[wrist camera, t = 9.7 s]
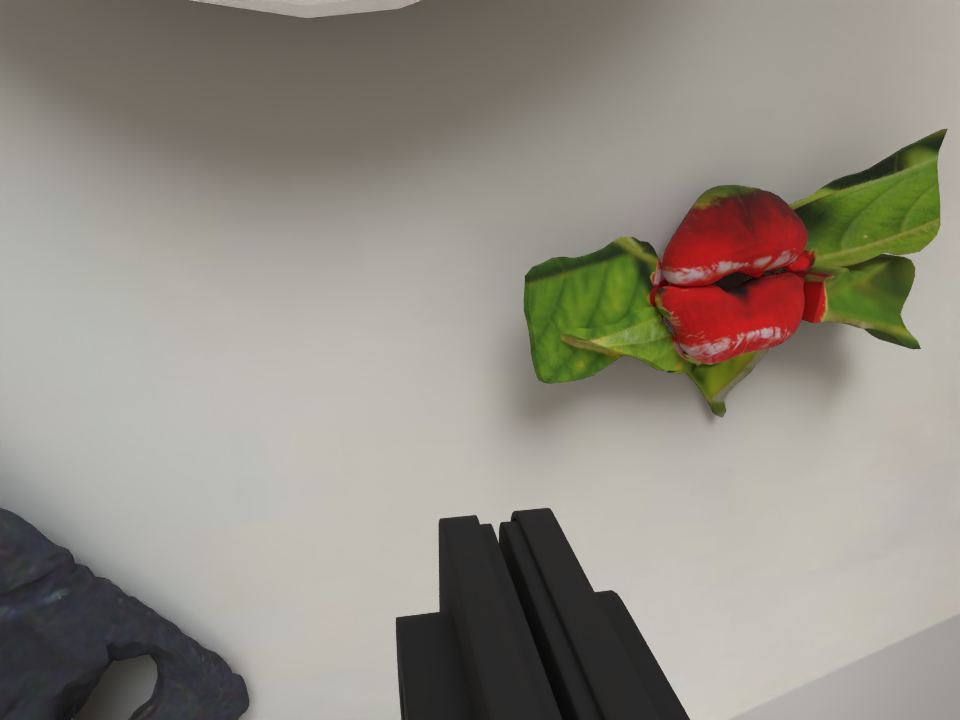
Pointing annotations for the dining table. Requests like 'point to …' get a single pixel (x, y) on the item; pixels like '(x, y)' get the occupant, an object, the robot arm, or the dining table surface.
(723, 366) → the decorative ornament
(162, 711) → the dark slate chunk
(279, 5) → the plate
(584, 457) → the dining table surface
